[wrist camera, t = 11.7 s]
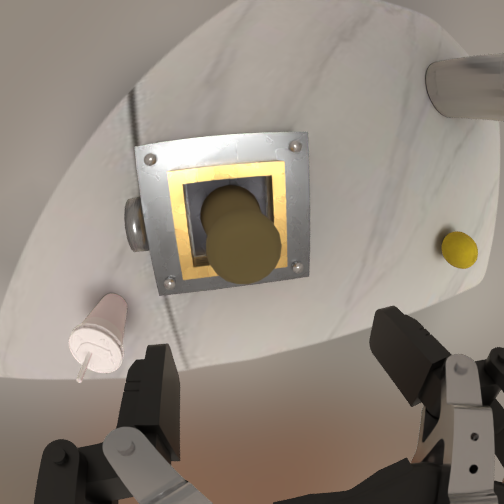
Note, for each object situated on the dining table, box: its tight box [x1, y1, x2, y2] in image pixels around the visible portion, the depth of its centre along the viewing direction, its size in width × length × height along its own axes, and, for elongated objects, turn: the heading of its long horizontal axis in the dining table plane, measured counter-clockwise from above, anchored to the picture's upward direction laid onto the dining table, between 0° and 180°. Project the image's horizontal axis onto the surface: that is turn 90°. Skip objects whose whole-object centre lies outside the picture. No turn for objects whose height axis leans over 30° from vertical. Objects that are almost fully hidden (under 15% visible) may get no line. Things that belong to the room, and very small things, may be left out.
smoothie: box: [69, 293, 127, 383], centre depth 28 cm, size 6×6×14 cm
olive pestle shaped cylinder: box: [200, 185, 282, 284], centre depth 23 cm, size 6×6×11 cm
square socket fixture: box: [125, 132, 310, 296], centre depth 29 cm, size 19×16×6 cm
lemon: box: [442, 231, 478, 269], centre depth 36 cm, size 6×6×8 cm
